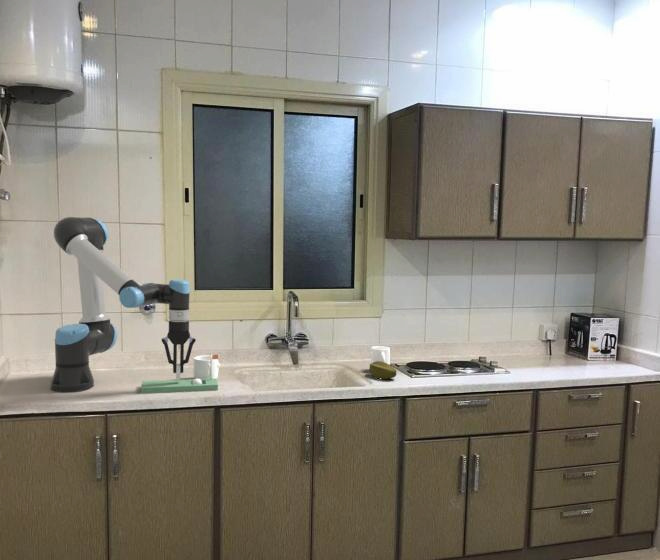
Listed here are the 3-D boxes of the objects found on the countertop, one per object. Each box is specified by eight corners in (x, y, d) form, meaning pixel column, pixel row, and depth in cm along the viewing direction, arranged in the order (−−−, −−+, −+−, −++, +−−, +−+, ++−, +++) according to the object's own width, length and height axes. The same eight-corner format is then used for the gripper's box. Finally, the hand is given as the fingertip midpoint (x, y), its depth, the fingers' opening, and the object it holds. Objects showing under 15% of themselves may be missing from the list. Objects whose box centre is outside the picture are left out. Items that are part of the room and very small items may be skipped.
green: (141, 393, 221) (140, 361, 220) (142, 386, 230) (142, 355, 229) (219, 389, 228) (219, 359, 227) (217, 383, 238) (217, 353, 237)
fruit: (369, 380, 248) (369, 364, 248) (369, 373, 260) (369, 358, 260) (396, 381, 248) (397, 365, 247) (395, 374, 260) (395, 359, 259)
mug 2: (392, 374, 259) (393, 351, 258) (373, 374, 258) (374, 351, 257) (387, 368, 271) (388, 346, 270) (369, 368, 270) (370, 346, 269)
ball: (191, 381, 228) (200, 378, 229) (191, 378, 231) (200, 376, 232) (193, 390, 229) (203, 387, 229) (193, 387, 232) (202, 384, 233)
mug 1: (224, 382, 240) (224, 360, 239) (198, 385, 235) (198, 362, 234) (215, 375, 250) (215, 354, 249) (191, 378, 245) (191, 356, 245)
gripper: (161, 322, 222) (160, 384, 224) (197, 321, 225) (195, 383, 227) (161, 318, 229) (160, 379, 231) (196, 318, 232) (195, 378, 235)
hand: (178, 381), depth 229 cm, fingers closed
